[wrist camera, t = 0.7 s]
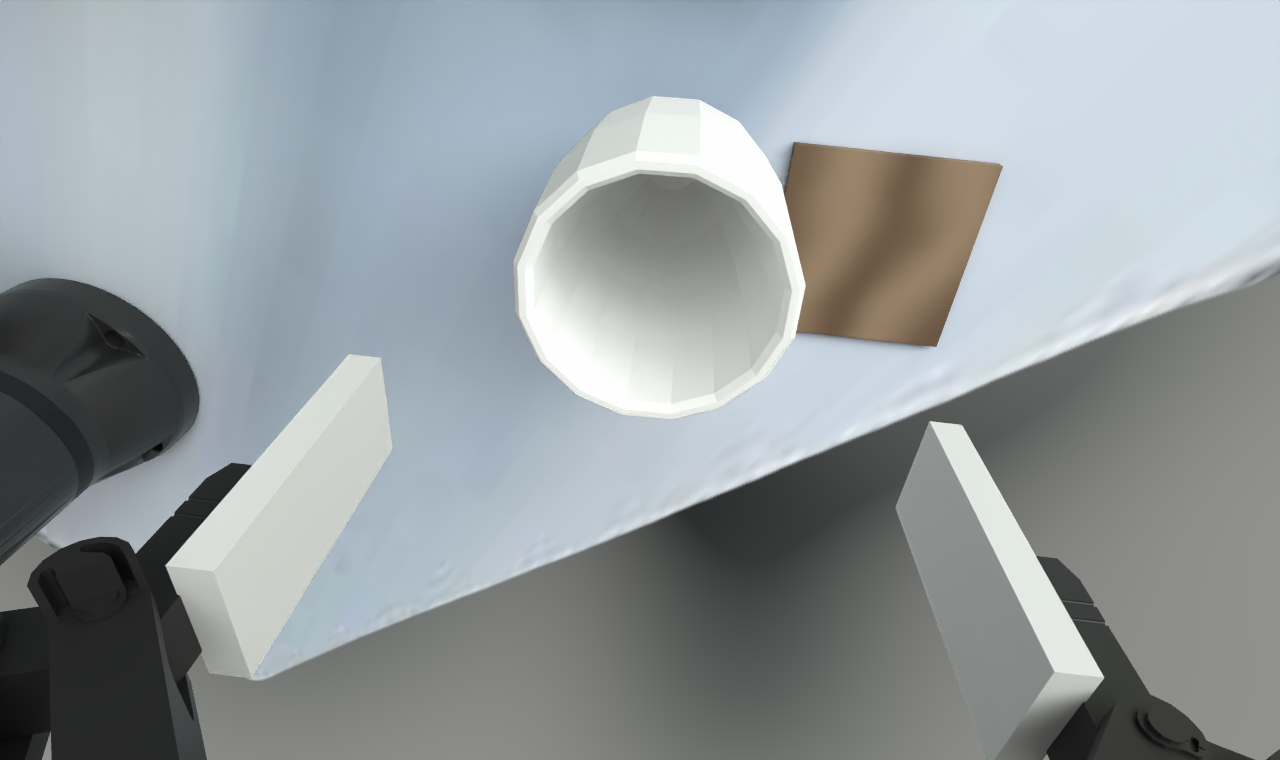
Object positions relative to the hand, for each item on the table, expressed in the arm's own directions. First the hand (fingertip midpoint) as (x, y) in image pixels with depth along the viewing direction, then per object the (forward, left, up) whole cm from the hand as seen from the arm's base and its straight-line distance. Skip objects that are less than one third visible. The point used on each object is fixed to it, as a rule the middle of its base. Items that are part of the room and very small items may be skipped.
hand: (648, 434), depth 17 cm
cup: (0, 0, -29) cm, 29 cm away
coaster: (+13, -5, -28) cm, 32 cm away
